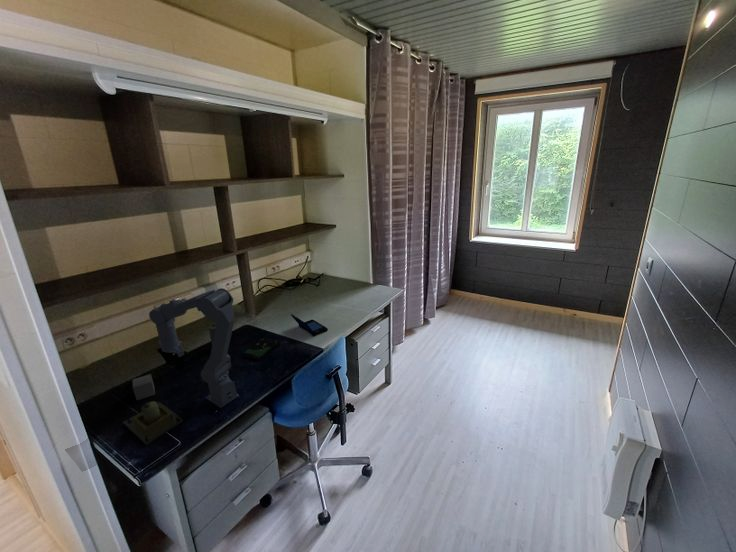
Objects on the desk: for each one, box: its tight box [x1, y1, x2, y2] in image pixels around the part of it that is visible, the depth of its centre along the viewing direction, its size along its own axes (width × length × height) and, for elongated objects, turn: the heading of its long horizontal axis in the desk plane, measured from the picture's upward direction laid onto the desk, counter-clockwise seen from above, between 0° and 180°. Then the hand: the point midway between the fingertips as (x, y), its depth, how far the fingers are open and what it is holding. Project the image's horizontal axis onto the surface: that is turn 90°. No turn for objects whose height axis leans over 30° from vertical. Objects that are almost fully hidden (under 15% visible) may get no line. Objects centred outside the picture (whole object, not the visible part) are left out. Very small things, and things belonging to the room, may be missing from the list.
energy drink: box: [208, 323, 217, 346], centre depth 158 cm, size 5×5×12 cm
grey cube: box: [132, 373, 156, 401], centre depth 129 cm, size 6×6×6 cm
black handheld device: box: [290, 313, 329, 337], centre depth 175 cm, size 16×13×9 cm
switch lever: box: [140, 401, 162, 426], centre depth 113 cm, size 5×5×7 cm
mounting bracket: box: [122, 401, 184, 446], centre depth 114 cm, size 16×12×4 cm
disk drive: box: [242, 336, 281, 361], centre depth 157 cm, size 10×3×15 cm
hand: (175, 366), depth 128 cm, fingers open, 7 cm apart
